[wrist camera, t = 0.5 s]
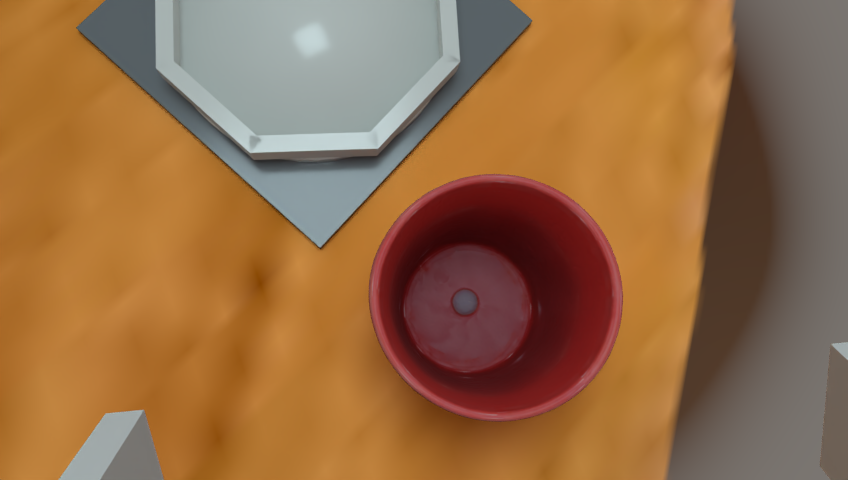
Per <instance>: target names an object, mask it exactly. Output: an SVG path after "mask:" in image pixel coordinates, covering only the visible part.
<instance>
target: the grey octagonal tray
mask: <svg viewBox="0 0 848 480" xmlns="http://www.w3.org/2000/svg"><path fill="white" fill-rule="evenodd" d="M531 22H532V20H531V19H530V18H529V17H528V16H527V15H526V14H525V13H523V12H522V11H521V10H520V9H519V8H518V7H517V6H515V5H514V4H513V3H512V2H511V1H510V0H106V1H104V2H103V3H102V4H101V5H100V6H99V7H98V8H97V9H96V10H95V11H94V12H93V13H92V14H90V15H89V16H88V17H87V18H86V19H85V20H84V21H83V22H82V23H81V24H80V25H79V26H77V27H76V28H77V29H78V30H79V32H81V33H82V34H83V35H84V36H85V37H86V38H87V39H88V40H89V41H91V42H92V43H93V44H94V45H95V46H96V47H97V48H98V49H99V50H101V51H102V52H103V53H104V54H105V55H106V56H107V57H108V58H109V59H111V60H112V61H113V62H114V63H115V64H116V65H117V66H118V67H119V68H120V69H122V70H123V71H124V72H125V73H126V74H127V75H128V76H129V77H130V78H132V79H133V80H134V81H135V82H136V83H137V84H138V85H139V86H140V87H142V88H143V89H144V90H145V91H146V92H147V93H148V94H149V95H150V96H152V97H153V98H154V99H155V100H156V101H157V102H158V103H159V104H160V105H162V106H163V107H164V108H165V109H166V110H167V111H168V112H169V113H170V114H171V115H173V116H174V117H175V118H176V119H177V120H178V121H179V122H180V123H181V124H183V125H184V126H185V127H186V128H187V129H188V130H189V131H190V132H191V133H193V134H194V135H195V136H196V137H197V138H198V139H199V140H200V141H201V142H203V143H204V144H205V145H206V146H207V147H208V148H209V149H210V150H211V151H212V152H214V153H215V154H216V155H217V156H218V157H219V158H220V159H221V160H222V161H224V162H225V163H226V164H227V165H228V166H229V167H230V168H231V169H232V170H234V171H235V172H236V173H237V174H238V175H239V176H240V177H241V178H242V179H244V180H245V181H246V182H247V183H248V184H249V185H250V186H251V187H252V188H254V189H255V190H256V191H257V192H258V193H259V194H260V195H261V196H262V197H263V198H265V199H266V200H267V201H268V202H269V203H270V204H271V205H272V206H273V207H275V208H276V209H277V210H278V211H279V212H280V213H281V214H282V215H283V216H285V217H286V218H287V219H288V220H289V221H290V222H291V223H292V224H293V225H295V226H296V227H297V228H298V229H299V230H300V231H301V232H302V233H303V234H305V235H306V236H307V237H308V238H309V239H310V240H311V241H312V242H313V243H314V244H316V245H317V246H318V247H319V248H320V249H321V248H322V247H323V246H324V245H325V244H326V242H327V241H328V240H329V239H330V238H331V237H332V236H333V235H334V234H335V233H336V232H337V231H338V230H339V229H340V227H341V226H342V225H343V224H344V223H345V222H346V221H347V220H348V219H349V218H350V217H351V216H352V215H353V214H354V212H355V211H356V210H357V209H358V208H359V207H360V206H361V205H362V204H363V203H364V202H365V201H366V200H367V199H368V197H369V196H370V195H371V194H372V193H373V192H374V191H375V190H376V189H377V188H378V187H379V186H380V185H381V184H382V182H383V181H384V180H385V179H386V178H387V177H388V176H389V175H390V174H391V173H392V172H393V171H394V170H395V169H396V167H397V166H398V165H399V164H400V163H401V162H402V161H403V160H404V159H405V158H406V157H407V156H408V155H409V154H410V153H411V151H412V150H413V149H414V148H415V147H416V146H417V145H418V144H419V143H420V142H421V141H422V140H423V139H424V138H425V136H426V135H427V134H428V133H429V132H430V131H431V130H432V129H433V128H434V127H435V126H436V125H437V124H438V123H439V121H440V120H441V119H442V118H443V117H444V116H445V115H446V114H447V113H448V112H449V111H450V110H451V109H452V108H453V106H454V105H455V104H456V103H457V102H458V101H459V100H460V99H461V98H462V97H463V96H464V95H465V94H466V93H467V91H468V90H469V89H470V88H471V87H472V86H473V85H474V84H475V83H476V82H477V81H478V80H479V79H480V78H481V76H482V75H483V74H484V73H485V72H486V71H487V70H488V69H489V68H490V67H491V66H492V65H493V64H494V63H495V61H496V60H497V59H498V58H499V57H500V56H501V55H502V54H503V53H504V52H505V51H506V50H507V49H508V48H509V47H510V45H511V44H512V43H513V42H514V41H515V40H516V39H517V38H518V37H519V36H520V35H521V34H522V33H523V32H524V30H525V29H526V28H527V27H528V26H529V25H530V24H531Z"/></svg>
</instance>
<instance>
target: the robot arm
mask: <svg viewBox="0 0 848 480" xmlns="http://www.w3.org/2000/svg"><path fill="white" fill-rule="evenodd" d="M820 466H821V468H822V469H823V470H824V472H825V473H826V474H827V476H828V477H829V478H830V479H831V480H848V342H847V343H836V344H831V345H830V356H829V368H828V380H827V391H826V402H825V414H824V425H823V436H822V448H821V460H820ZM59 480H164V479H163V475H162V472H161V468H160V465H159V461H158V457H157V454H156V450H155V447H154V443H153V440H152V436H151V433H150V429H149V426H148V422H147V419H146V415H145V411H144V410H138V411H127V412H117V413H107V414H105V415H104V417H103V418H102V419H101V421H100V422H99V424H98V425H97V426H96V428H95V429H94V431H93V432H92V433H91V435H90V436H89V438H88V439H87V440H86V442H85V443H84V445H83V446H82V447H81V449H80V450H79V452H78V453H77V455H76V456H75V457H74V459H73V460H72V462H71V463H70V464H69V466H68V467H67V469H66V470H65V471H64V473H63V474H62V476H61V477H60V478H59Z"/></svg>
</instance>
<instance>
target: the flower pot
mask: <svg viewBox="0 0 848 480" xmlns="http://www.w3.org/2000/svg"><path fill="white" fill-rule="evenodd" d="M622 305H623V292H622V282H621V276H620V272H619V268H618V264H617V261H616V258H615V255H614V253H613V251H612V248H611V246H610V244H609V242H608V240H607V238H606V237H605V235H604V233H603V232H602V230H601V229H600V227H599V226H598V224H597V223H596V222H595V221H594V220H593V218H592V217H591V216H590V215H589V214H588V213H587V212H586V211H585V210H584V209H583V208H582V207H581V206H580V205H579V204H577V203H576V202H575V201H574V200H572V199H571V198H569V197H568V196H566V195H565V194H563V193H562V192H560V191H558V190H556V189H554V188H552V187H550V186H548V185H546V184H543V183H540V182H537V181H535V180H531V179H528V178H523V177H519V176H513V175H501V174H486V175H477V176H471V177H465V178H461V179H458V180H455V181H452V182H449V183H447V184H444V185H442V186H440V187H438V188H435V189H433V190H431V191H430V192H428V193H426V194H425V195H423V196H422V197H421V198H419V199H418V200H416V201H415V202H414V203H413V204H412V205H410V206H409V207H408V208H407V209H406V210H405V211H404V212H403V213H402V214H401V215H400V216H399V217H398V219H397V220H396V221H395V222H394V224H393V225H392V226H391V228H390V229H389V231H388V232H387V234H386V236H385V237H384V239H383V241H382V243H381V245H380V247H379V249H378V251H377V253H376V256H375V259H374V262H373V265H372V269H371V274H370V282H369V306H370V313H371V319H372V323H373V327H374V330H375V333H376V336H377V338H378V341H379V343H380V345H381V348H382V350H383V352H384V353H385V355H386V357H387V359H388V360H389V362H390V363H391V365H392V366H393V368H394V369H395V370H396V371H397V373H398V374H399V375H400V376H401V377H402V379H403V380H404V381H405V382H406V383H407V384H408V385H409V386H410V387H411V388H413V389H414V390H415V391H416V392H417V393H419V394H420V395H421V396H423V397H424V398H425V399H427V400H429V401H430V402H432V403H434V404H435V405H437V406H439V407H441V408H443V409H445V410H447V411H449V412H452V413H455V414H457V415H460V416H463V417H467V418H471V419H476V420H483V421H497V422H501V421H515V420H521V419H526V418H530V417H534V416H537V415H540V414H543V413H545V412H548V411H550V410H553V409H555V408H557V407H559V406H560V405H562V404H564V403H566V402H567V401H569V400H570V399H572V398H573V397H574V396H576V395H577V394H578V393H579V392H581V391H582V390H583V389H584V388H585V387H586V386H587V385H588V384H589V383H590V382H591V381H592V380H593V379H594V377H595V376H596V375H597V374H598V372H599V371H600V370H601V368H602V367H603V365H604V364H605V362H606V360H607V359H608V357H609V355H610V353H611V351H612V348H613V346H614V343H615V341H616V338H617V335H618V331H619V328H620V323H621V316H622Z"/></svg>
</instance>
